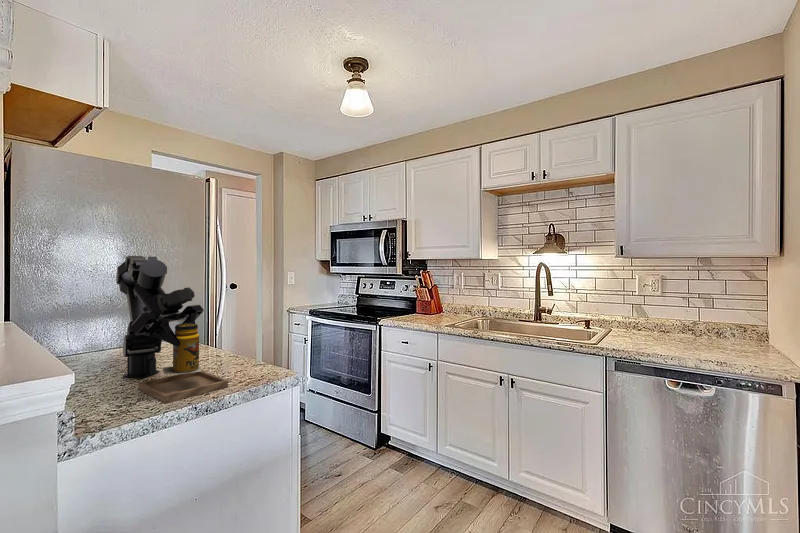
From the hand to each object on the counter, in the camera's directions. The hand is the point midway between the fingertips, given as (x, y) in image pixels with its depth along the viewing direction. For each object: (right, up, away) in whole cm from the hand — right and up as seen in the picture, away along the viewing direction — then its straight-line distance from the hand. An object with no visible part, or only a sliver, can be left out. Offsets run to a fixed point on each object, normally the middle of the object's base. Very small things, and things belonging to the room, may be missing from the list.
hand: (188, 342), depth 102 cm
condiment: (-2, -7, 0) cm, 8 cm away
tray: (-1, -12, 0) cm, 12 cm away
